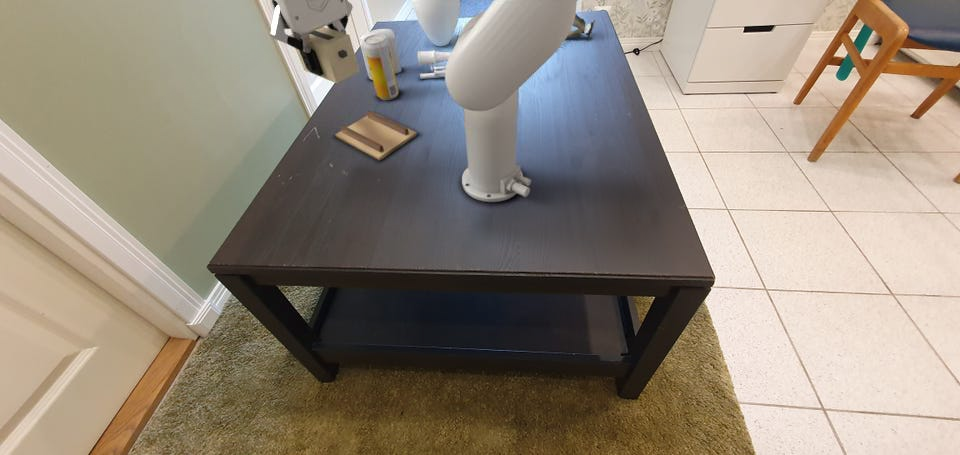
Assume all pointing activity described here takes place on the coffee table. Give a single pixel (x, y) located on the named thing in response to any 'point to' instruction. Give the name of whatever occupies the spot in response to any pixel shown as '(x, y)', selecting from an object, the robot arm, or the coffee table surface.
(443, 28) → the vase
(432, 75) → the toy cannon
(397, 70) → the white curved piece
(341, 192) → the coffee table surface
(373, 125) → the cradle
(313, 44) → the toaster
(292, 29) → the robot arm
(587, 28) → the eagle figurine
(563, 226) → the coffee table surface
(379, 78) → the beer can
